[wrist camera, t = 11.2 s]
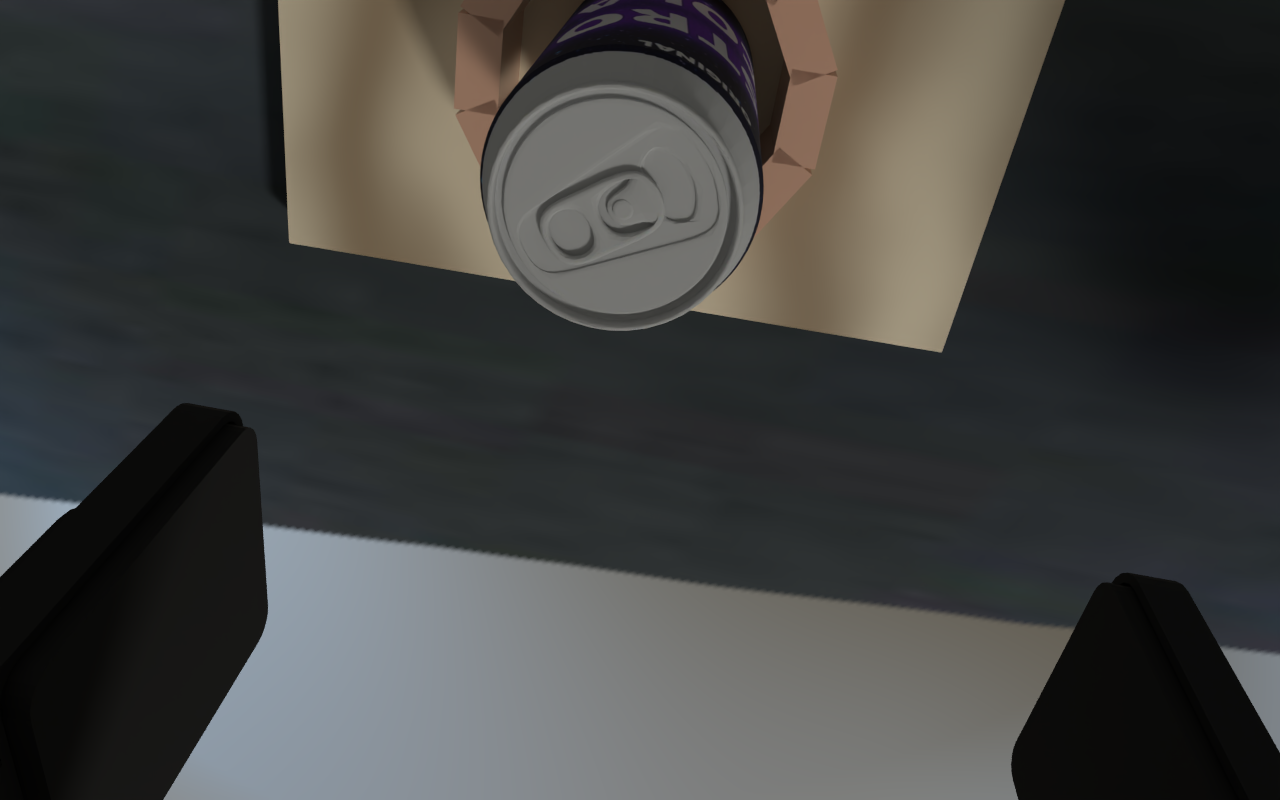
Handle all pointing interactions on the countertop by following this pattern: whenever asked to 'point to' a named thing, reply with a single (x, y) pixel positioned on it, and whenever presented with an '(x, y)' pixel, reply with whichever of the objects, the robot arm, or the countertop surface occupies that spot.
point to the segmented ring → (785, 143)
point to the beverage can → (628, 163)
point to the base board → (848, 158)
